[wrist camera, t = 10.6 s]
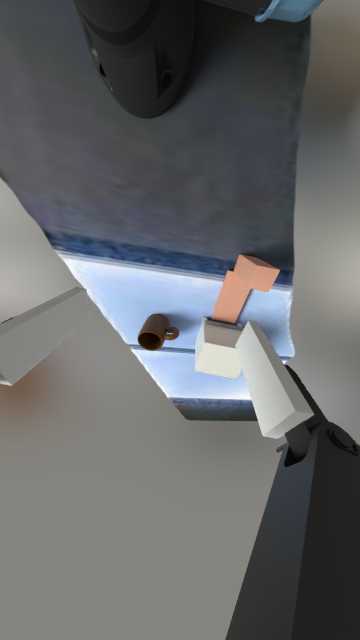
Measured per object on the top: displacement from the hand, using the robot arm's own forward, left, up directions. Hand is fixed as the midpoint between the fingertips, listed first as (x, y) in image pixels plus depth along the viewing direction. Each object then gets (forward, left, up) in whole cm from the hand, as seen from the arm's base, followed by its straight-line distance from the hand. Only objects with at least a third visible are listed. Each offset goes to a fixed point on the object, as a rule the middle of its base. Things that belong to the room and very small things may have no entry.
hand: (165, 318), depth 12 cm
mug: (+21, -4, -29) cm, 36 cm away
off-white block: (+22, +14, -29) cm, 38 cm away
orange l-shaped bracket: (+7, +14, -29) cm, 33 cm away
